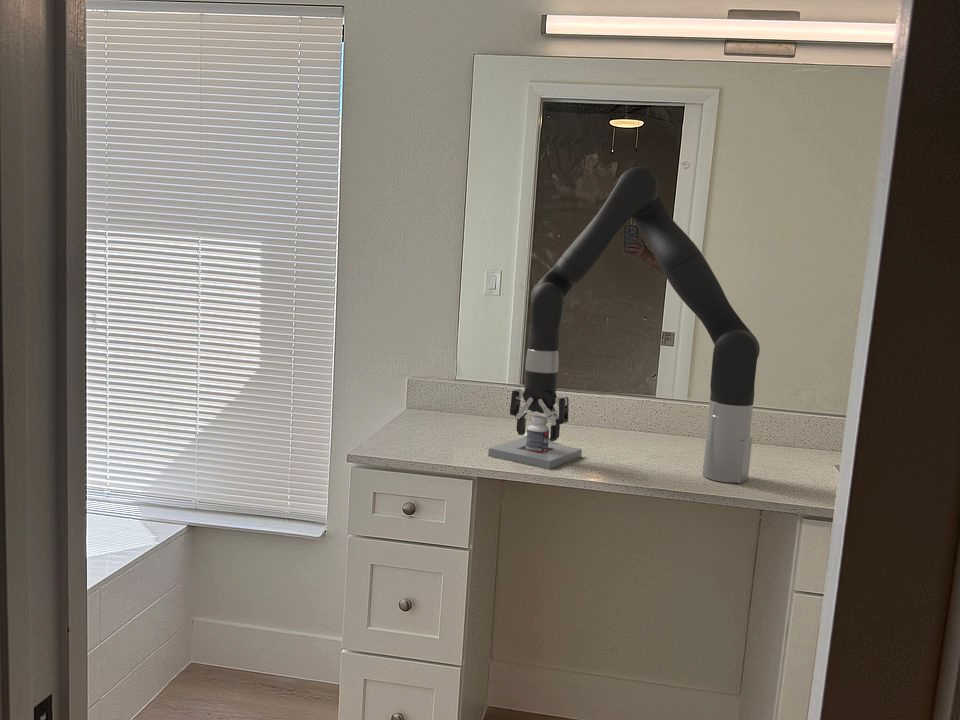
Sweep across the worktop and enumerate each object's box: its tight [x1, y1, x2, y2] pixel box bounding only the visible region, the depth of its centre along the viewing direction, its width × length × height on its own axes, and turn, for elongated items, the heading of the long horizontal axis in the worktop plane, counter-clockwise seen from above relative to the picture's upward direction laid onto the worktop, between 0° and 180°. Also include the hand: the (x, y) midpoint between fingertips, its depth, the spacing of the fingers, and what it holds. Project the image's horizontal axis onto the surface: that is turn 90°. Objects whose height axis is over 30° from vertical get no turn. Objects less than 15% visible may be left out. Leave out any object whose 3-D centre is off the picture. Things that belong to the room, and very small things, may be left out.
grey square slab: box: [487, 436, 583, 470], centre depth 201 cm, size 16×16×2 cm
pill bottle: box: [526, 414, 550, 454], centre depth 200 cm, size 5×5×9 cm
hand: (537, 437), depth 200 cm, fingers open, 8 cm apart
